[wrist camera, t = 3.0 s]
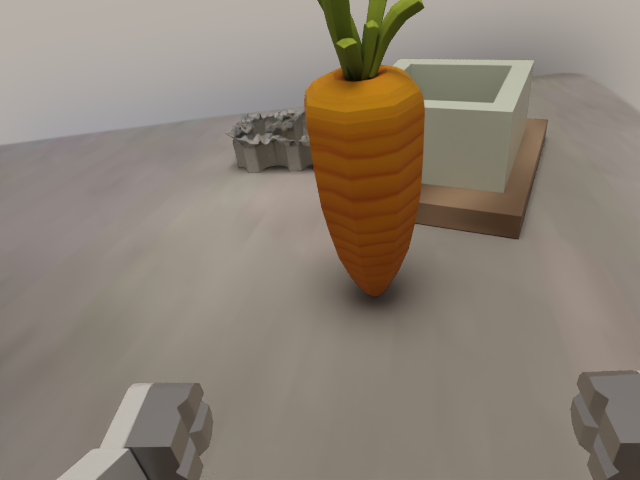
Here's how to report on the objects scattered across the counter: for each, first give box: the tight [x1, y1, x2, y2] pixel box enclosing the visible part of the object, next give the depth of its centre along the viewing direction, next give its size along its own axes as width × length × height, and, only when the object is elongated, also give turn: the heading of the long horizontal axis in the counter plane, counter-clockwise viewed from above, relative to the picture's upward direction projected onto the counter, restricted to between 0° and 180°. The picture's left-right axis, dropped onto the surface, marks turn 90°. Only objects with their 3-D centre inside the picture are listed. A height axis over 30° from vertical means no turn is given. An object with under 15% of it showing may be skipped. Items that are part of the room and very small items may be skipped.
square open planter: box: [393, 59, 534, 193], centre depth 33 cm, size 9×9×5 cm
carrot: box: [304, 0, 425, 297], centre depth 21 cm, size 5×5×15 cm
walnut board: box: [415, 118, 548, 239], centre depth 35 cm, size 12×14×2 cm
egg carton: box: [225, 108, 313, 173], centre depth 40 cm, size 11×8×4 cm
